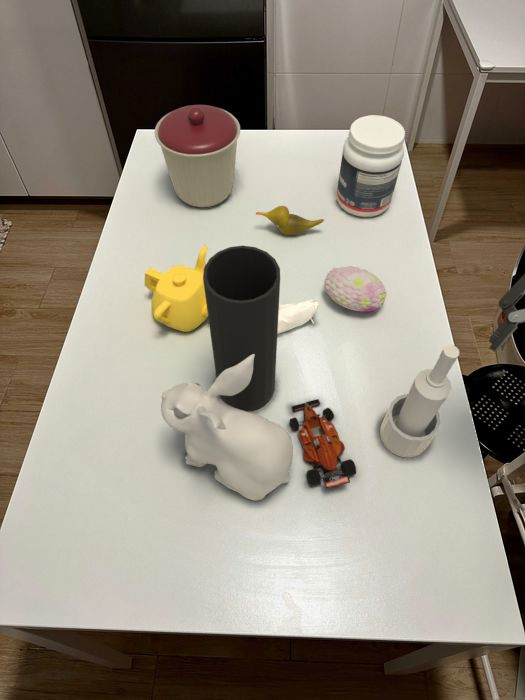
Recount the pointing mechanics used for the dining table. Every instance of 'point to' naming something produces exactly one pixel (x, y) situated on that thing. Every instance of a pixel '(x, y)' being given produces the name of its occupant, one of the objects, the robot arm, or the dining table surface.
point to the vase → (244, 318)
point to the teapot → (179, 295)
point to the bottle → (427, 395)
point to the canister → (199, 152)
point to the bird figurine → (295, 314)
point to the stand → (403, 442)
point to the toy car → (322, 446)
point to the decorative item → (355, 288)
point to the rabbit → (230, 434)
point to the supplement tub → (370, 165)
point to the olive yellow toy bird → (289, 221)
